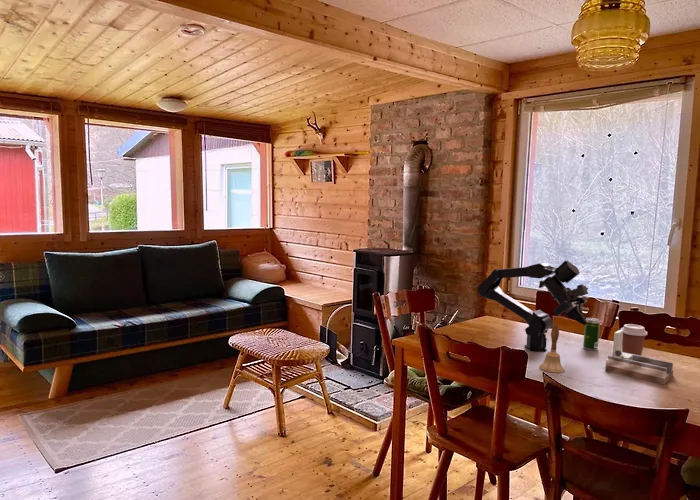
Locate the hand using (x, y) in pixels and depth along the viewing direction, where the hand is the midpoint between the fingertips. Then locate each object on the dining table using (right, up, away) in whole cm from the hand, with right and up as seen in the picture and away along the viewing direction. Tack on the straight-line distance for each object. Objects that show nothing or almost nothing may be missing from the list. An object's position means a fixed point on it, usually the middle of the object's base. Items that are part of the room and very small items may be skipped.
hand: (586, 324), depth 190 cm
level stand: (+13, -15, -11) cm, 23 cm away
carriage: (+8, -13, -9) cm, 17 cm away
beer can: (+9, -12, +17) cm, 23 cm away
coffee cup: (+20, -14, +7) cm, 25 cm away
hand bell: (-16, -15, -9) cm, 24 cm away
